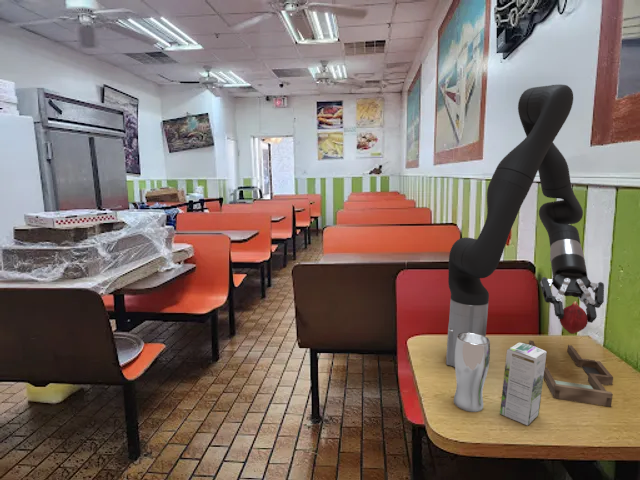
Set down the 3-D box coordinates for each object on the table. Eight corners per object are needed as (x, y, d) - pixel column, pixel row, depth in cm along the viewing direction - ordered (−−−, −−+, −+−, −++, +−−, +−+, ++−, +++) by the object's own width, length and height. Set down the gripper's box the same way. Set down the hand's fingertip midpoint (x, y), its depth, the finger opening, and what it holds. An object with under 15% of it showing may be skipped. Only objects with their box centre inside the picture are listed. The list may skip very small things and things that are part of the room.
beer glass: (447, 395, 91) (452, 331, 89) (478, 396, 91) (484, 332, 89) (456, 412, 85) (461, 344, 82) (490, 413, 84) (496, 345, 82)
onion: (590, 339, 95) (594, 306, 94) (563, 337, 96) (567, 304, 95) (579, 330, 101) (583, 299, 100) (554, 328, 102) (557, 297, 101)
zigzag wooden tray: (534, 395, 92) (535, 382, 92) (513, 344, 121) (514, 335, 120) (632, 410, 87) (634, 397, 86) (587, 354, 115) (588, 344, 115)
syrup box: (511, 404, 88) (517, 340, 86) (540, 416, 84) (547, 349, 82) (499, 414, 84) (505, 347, 82) (529, 427, 80) (536, 357, 78)
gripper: (540, 250, 105) (546, 308, 95) (604, 254, 101) (617, 315, 91) (533, 266, 111) (538, 322, 101) (594, 271, 107) (605, 330, 97)
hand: (576, 319), depth 96 cm, fingers closed on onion, 5 cm apart
